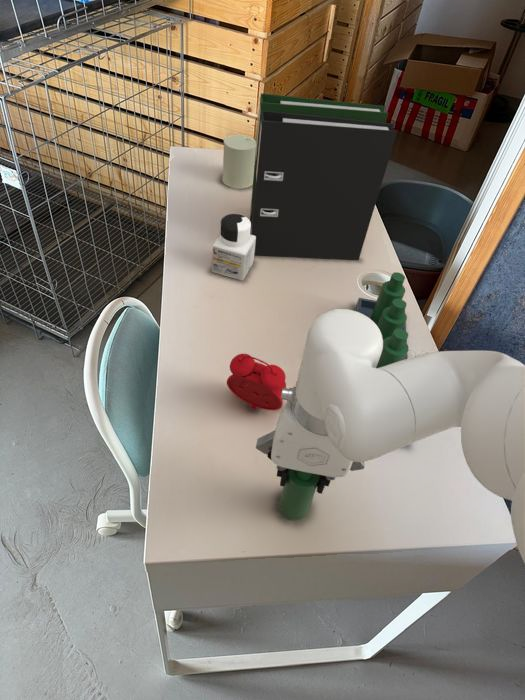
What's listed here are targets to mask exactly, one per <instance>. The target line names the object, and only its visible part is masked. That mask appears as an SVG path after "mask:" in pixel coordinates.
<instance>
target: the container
mask: <svg viewBox="0 0 525 700" xmlns="http://www.w3.org/2000/svg"><path fill="white" fill-rule="evenodd" d="M250 230H251V222H250V218H248V217H247V216H245V215H243V214H240V213H229V214H226V215H224V216H223V217H222V218H221V220H220V234H219V236H218V237H217V238H216V239H215V241H214V243H213V244H212V256H211V258H212V259H211V261H212V262H211V272H212V273H214V274H218V275H221V276H223V277H224V276H225V277H228V278H232V279H235V280H238V281H244V280H245V278H246V276H247V274H248V273H249V271H250V269H251V268H252V266H253V264H254V261H255V256H254V252H255V243H256V236H254V235H250Z"/></svg>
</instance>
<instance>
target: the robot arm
mask: <svg viewBox="0 0 525 700" xmlns="http://www.w3.org/2000/svg"><path fill="white" fill-rule="evenodd" d="M303 348H304V349H303V354H302V357H301V361H300V367H299V370H298V376H297V380H296V382H295V385H294V386H292V387H288V388H287V387H286V388H283V389H282V395H281V399H282V400H284V401H285V404H284V405H283V407H282V410H281V411H280V413H279V417H278V420H277V423H276V427H275V429H274V430H273V431H270V432H268V433H266V434H264V435H262V436H261V437H258V438H257V439H256V444H255V449H256V450H258V451H259V452H261V453H263V454H264V455H267V456H266V457H267V458H268V459H269V460H270V461H272V463H273V464H275V465H276V469H277V471H276V477H277V478H280V482H279V486H280V487H283V486H285V484H286V480H287V476H288V472H289V469H293V470H298V471H303V472H308V473H313V474H318V475H320V480H319V482H318V485H317V488H316V493H318V495H319V494H320V495H323V492H324V490H325V487H329V486H330V485H331V481H335V479H336V478H343V477H346V476H347V475H348V474H349V472H350V471H351V472H353V471H360V470H364V469H365V462H368V461H369V462H370V461H371V460H374V459H377V458H380V457H383V456H385V455H388V454H389V453H392V452H394V451H397V450H400V449H402V448H404V447H407V446H409V445H412V444H414V443H416V442H419V441H422V440H424V439H426V438H429V437H432V436H434V435H437V434H440V433H442V432H445V431H447V430H450V429H453V428H460V441H461V442H460V443H461V449H462V454H463V457H464V459H465V463H466V465H467V466H468V469H469V470H470V472H471V474H472V476H473V477H474V479H476V481H477V482H479V484H481V486H482V487H484V488H485V489H486V490H487V491H488V492H490V493H492V494H494V495H496V496H497V497H499V498H502V499H505V500H507V501H511V504H510V507H511V508H510V520H511V525H512V526H511V527H512V531H513V535H514V539H515V543H516V544H515V545H516V547H517V549H518V552H519V555H520V557H521V559H522V562H523V563H524V564H525V364H524V363H522V362H521V361H519V360H517V359H515V358H514V357H512V356H510V355H508V354H506V353H503V352H501V351H495V350H441V351H432V352H427V353H423V354H419V355H415V356H411V357H408V359H405V360H401V361H398V362H395V363H392V364H389V365H386V366H383V367H380V368H376V366H377V364H378V361H379V359H380V356H381V353H382V350H383V338H382V334H381V332H380V330H379V328H378V326H377V325H376V324H375V323H374V322H373V321H372V320H371V319H370V318H369V317H367V316H365V315H363V314H361V313H359V312H356V310H353V309H348V308H347V309H346V308H335V309H334V308H333V309H330V310H327V311H324V312H323V313H321V314H320V315H318V316H316V318H315V319H314V320H313V321H312V323H311V324H310V325H309V327H308V331H307V336H306V340H305V344H304V347H303Z"/></svg>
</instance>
